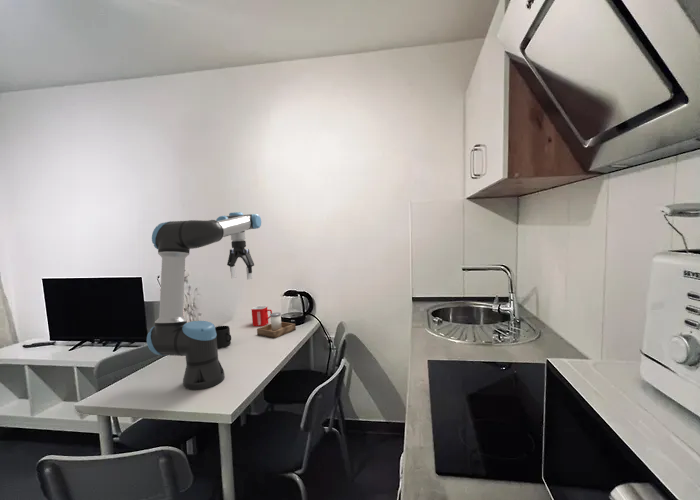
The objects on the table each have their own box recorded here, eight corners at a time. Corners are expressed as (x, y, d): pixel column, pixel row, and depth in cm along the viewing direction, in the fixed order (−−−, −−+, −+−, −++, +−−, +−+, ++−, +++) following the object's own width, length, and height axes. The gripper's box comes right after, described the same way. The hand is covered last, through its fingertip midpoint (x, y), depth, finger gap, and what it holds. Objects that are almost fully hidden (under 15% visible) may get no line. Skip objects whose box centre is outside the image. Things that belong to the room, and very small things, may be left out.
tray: (275, 338, 187) (274, 332, 187) (257, 334, 195) (256, 328, 195) (295, 329, 200) (295, 323, 200) (278, 326, 208) (278, 321, 208)
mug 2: (251, 326, 213) (250, 309, 212) (257, 322, 221) (256, 305, 220) (269, 326, 210) (268, 309, 210) (275, 322, 218) (274, 305, 218)
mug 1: (224, 350, 174) (223, 332, 173) (207, 347, 179) (205, 330, 178) (238, 343, 182) (237, 326, 181) (221, 341, 187) (219, 325, 187)
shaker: (276, 333, 194) (275, 315, 193) (269, 331, 197) (267, 314, 196) (284, 329, 198) (282, 313, 198) (276, 328, 202) (275, 312, 201)
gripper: (258, 239, 189) (262, 278, 191) (229, 240, 204) (233, 276, 205) (247, 240, 183) (251, 280, 185) (218, 241, 197) (222, 278, 199)
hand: (241, 278), depth 195 cm, fingers open, 13 cm apart
